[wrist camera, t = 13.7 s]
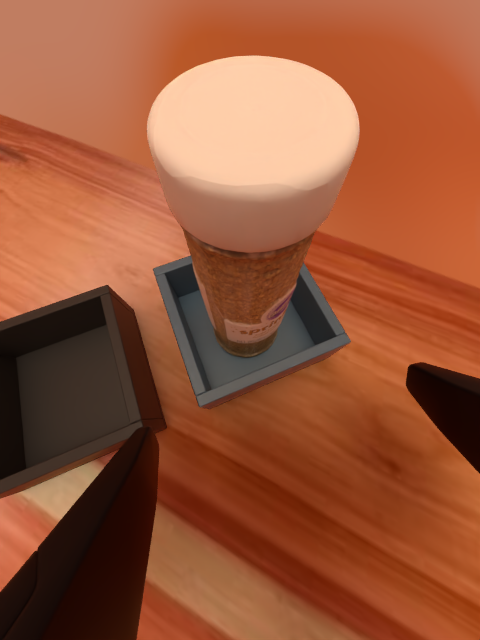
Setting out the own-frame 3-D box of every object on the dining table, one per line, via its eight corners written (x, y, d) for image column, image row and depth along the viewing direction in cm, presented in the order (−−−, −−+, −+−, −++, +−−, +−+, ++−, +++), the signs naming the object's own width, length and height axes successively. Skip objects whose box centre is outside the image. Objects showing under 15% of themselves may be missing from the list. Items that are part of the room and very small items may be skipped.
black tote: (167, 427, 16) (144, 431, 12) (21, 491, 14) (-52, 516, 11) (133, 309, 18) (107, 284, 15) (10, 354, 17) (-50, 338, 14)
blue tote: (329, 357, 17) (351, 341, 13) (209, 409, 16) (199, 407, 12) (274, 257, 20) (280, 223, 16) (169, 295, 19) (152, 268, 15)
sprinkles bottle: (259, 370, 16) (315, 225, 4) (201, 339, 17) (90, 135, 5) (288, 314, 18) (396, 74, 5) (233, 288, 19) (213, 26, 6)
